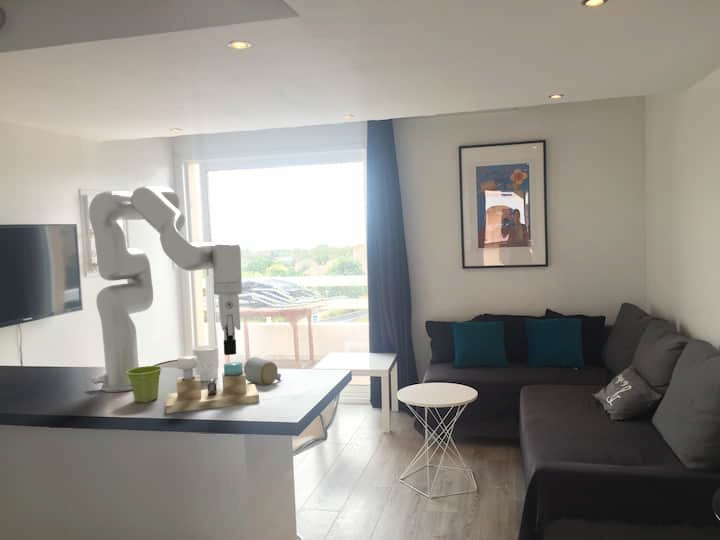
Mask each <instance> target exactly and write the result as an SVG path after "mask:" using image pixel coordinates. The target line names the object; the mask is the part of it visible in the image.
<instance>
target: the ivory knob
mask: <svg viewBox="0 0 720 540" xmlns="http://www.w3.org/2000/svg"><path fill="white" fill-rule="evenodd" d="M195 367H197V357H196V356H193V355H185V356H179V357H178V358H177V369H178V370H183V371H182V372H183V377H184V381H187V380H193V376H194V372H193V371H194V369H195Z"/></svg>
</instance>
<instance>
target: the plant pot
mask: <svg viewBox="0 0 720 540" xmlns="http://www.w3.org/2000/svg"><path fill="white" fill-rule="evenodd" d="M162 369H163V368H162V366H159V365H147V366H139V367H138V368H133V369H130V370H128V371H126V373H127V374H128V376H129V379H130V381H131V385H132V390H131V391H132V393H133V399H134V401H135V402H136V403H138V402H140V403H149V402H153V401H154V400H158V398H159V386H160V385H159V384H160V375H161V371H162Z"/></svg>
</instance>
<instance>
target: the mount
mask: <svg viewBox="0 0 720 540" xmlns="http://www.w3.org/2000/svg"><path fill="white" fill-rule="evenodd" d="M221 375H222V376H221V379H222V387H217V394H216V395H212V396H209V395H208V388H206V389H201V388H202V387H201V381H200V375H196V374H195V375H193V380H187V381H184V376H180V377H177V378H176V392H172V393H167V395H166V400H165V414H172V413H182V412H191V411H197V410H205V409H213V408H222V407H230V406H231V407H232V406H238V405H245V404H246V403H248V404H254V403H253V402H256V403H260V395H259V392H258V389H257V387H256V383H251V384H250V383H249V384H247V380H246V375H245V372H244V369H243V373H241V374H238V375H233V376H229V375H225V374H224V372H222V373H221Z"/></svg>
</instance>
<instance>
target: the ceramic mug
mask: <svg viewBox="0 0 720 540" xmlns="http://www.w3.org/2000/svg"><path fill="white" fill-rule="evenodd" d="M243 370H244V372H245V375H246V382H249V383H252V384H258V385H263V384H264V386H265V385H271V384H272V383H274V382H275V381H276V380H277V379H278V380H281V376H282V374H281V373H278V371H279V370H278V367H277V365H276V364H275V363H274V362H273V361H271V360H269V359H264V358H260V357H256V356H253V357H250V358H248V360H247V361H246V362H245V364H244V367H243ZM276 378H277V379H276Z"/></svg>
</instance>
